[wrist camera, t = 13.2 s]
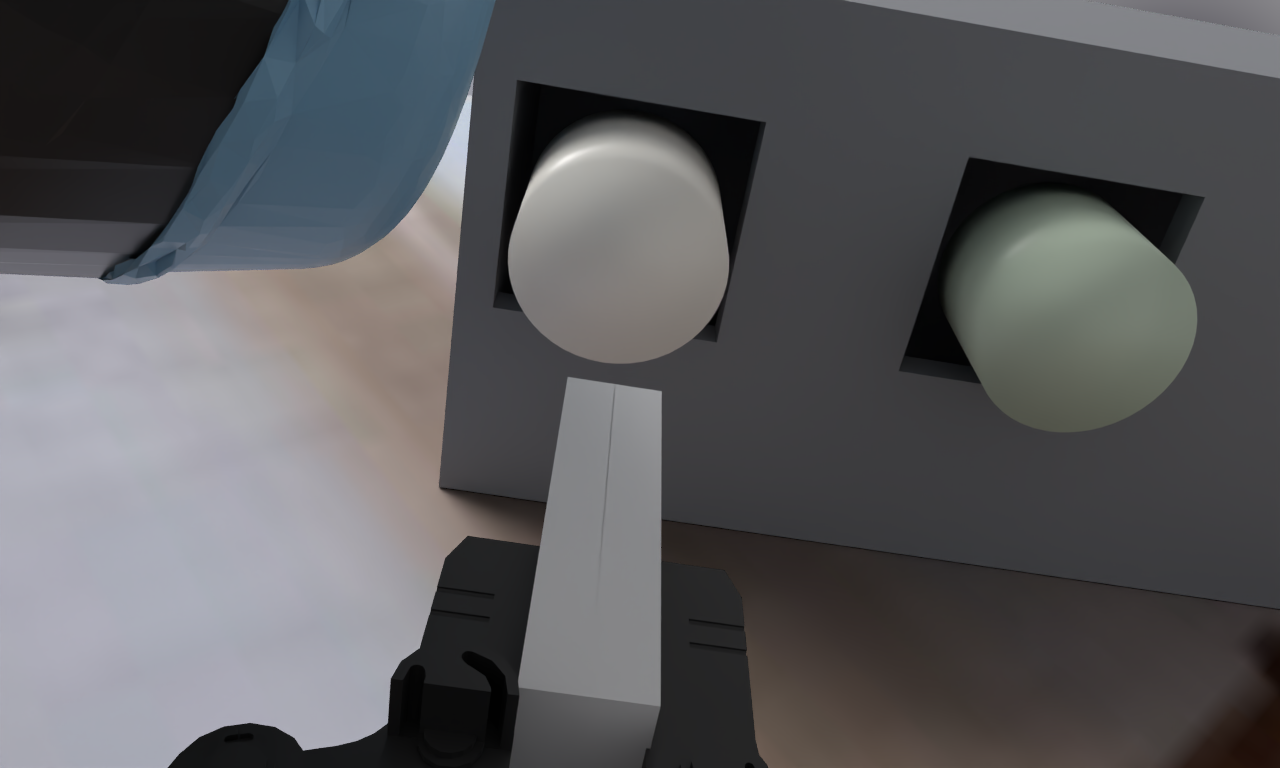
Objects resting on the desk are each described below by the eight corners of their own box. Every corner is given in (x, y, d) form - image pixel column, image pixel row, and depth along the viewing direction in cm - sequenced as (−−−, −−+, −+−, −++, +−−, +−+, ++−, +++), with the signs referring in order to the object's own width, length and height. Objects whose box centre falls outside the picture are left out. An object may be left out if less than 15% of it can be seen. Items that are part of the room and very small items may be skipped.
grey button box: (1410, 628, 32) (1737, 159, 25) (438, 486, 31) (486, -64, 23) (1265, 464, 40) (1482, 72, 33) (484, 344, 38) (530, -101, 31)
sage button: (1145, 446, 26) (1234, 259, 23) (948, 415, 26) (1018, 224, 23) (1088, 368, 29) (1160, 199, 27) (914, 340, 29) (971, 167, 27)
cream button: (705, 378, 25) (750, 178, 23) (497, 346, 25) (520, 140, 22) (700, 306, 29) (738, 127, 26) (518, 277, 28) (539, 93, 26)
